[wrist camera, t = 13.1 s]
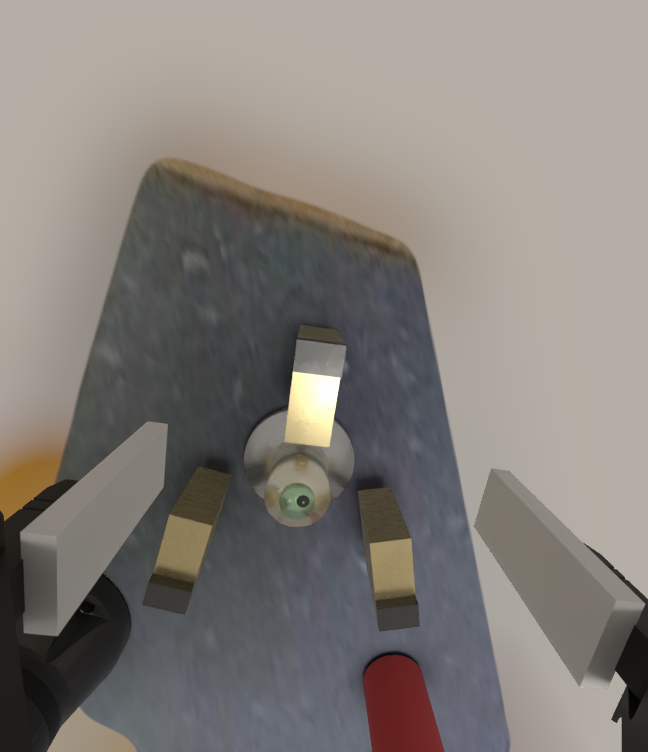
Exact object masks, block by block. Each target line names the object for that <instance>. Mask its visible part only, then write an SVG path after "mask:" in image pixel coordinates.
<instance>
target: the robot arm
mask: <svg viewBox="0 0 648 752" xmlns="http://www.w3.org/2000/svg"><path fill="white" fill-rule="evenodd" d="M167 430H168V424H164V423H157V422H149V421H148V422H146V423H145V424H144V425H143V426H142V427H141V428H139V429H138V430H137V431H136V432H135V433H134V434H133V435H131V436H130V437H129V438H128V439H127V440H126V441H125V442H123V443H122V444H121V445H120V446H119V447H118V448H116V449H115V450H114V451H113V452H112V453H111V454H110V455H108V456H107V457H106V458H105V459H104V460H103V461H102V462H100V463H99V464H98V465H97V466H96V467H95V468H93V469H92V470H91V471H90V472H89V473H88V474H87V475H85V476H84V477H83V478H82V479H81V480H80V481H75V480H67V479H66V480H63V481H61V482H59V483H56V484H54V485H52V486H50V487H48V488H46V489H45V490H44V491H42V492H41V493H40V494H39V495H37V496H36V497H35V498H34V500H31V501H30V502H28V503H27V504H26V505H25V506H23V508H22V509H20V510H18V511H17V512H16V513H14V514H13V515H12V516H11V517H9V518H8V519H7V520H6V521H4V516H3V514H2V512H1V511H0V752H47V750H48V748H49V746H50V745H51V743H52V741H53V739H54V738H55V736H56V734H57V732H58V731H59V729H60V727H61V726H62V725H63V724H64V722H65V721H66V720H67V719H68V718H69V717H70V716H71V715H72V714H73V713H74V711H76V709H77V708H78V707H79V706H80V705H81V704H82V703H83V702H84V701H85V700H86V699H87V697H88V696H89V695H90V694H91V693H92V692H93V691H94V690H95V689H96V688H97V686H98V685H99V684H100V683H101V682H102V681H103V680H104V679H105V678H106V677H107V676H108V674H109V673H110V672H111V670H112V669H113V668H114V666H115V664H116V663H117V661H118V659H119V657H120V655H121V653H122V651H123V649H124V647H125V645H126V643H127V640H128V637H129V633H130V616H129V612H128V608H127V606H126V603H125V601H124V599H123V598H122V596H121V595H120V593H119V592H118V590H117V589H116V588H115V587H114V586H113V585H112V584H111V583H110V582H109V581H108V580H107V579H106V578H105V577H103V576H102V573H103V572H104V570H105V569H106V568H107V566H108V565H109V563H110V562H111V560H112V559H113V558H114V556H115V555H116V553H117V552H118V551H119V549H120V548H121V546H122V545H123V544H124V542H125V541H126V539H127V538H128V537H129V535H130V534H131V532H132V531H133V530H134V528H135V527H136V525H137V524H138V522H139V521H140V520H141V518H142V517H143V515H144V514H145V513H146V511H147V510H148V508H149V507H150V506H151V504H152V503H153V501H154V500H155V499H156V497H157V496H158V494H159V493H160V492H161V490H162V489H163V487H164V474H165V459H166V445H167ZM474 527H475V528H476V530H477V531H478V533H479V534H480V536H481V537H482V539H483V541H484V542H485V544H486V545H487V547H488V548H489V550H490V551H491V553H492V554H493V556H494V557H495V559H496V560H497V562H498V563H499V565H500V566H501V568H502V569H503V571H504V572H505V574H506V575H507V577H508V579H509V580H510V581H511V583H512V584H513V586H514V588H515V589H516V591H517V592H518V594H519V595H520V597H521V598H522V600H523V601H524V603H525V604H526V606H527V607H528V609H529V611H530V612H531V613H532V615H533V617H534V618H535V619H536V621H537V622H538V624H539V626H540V627H541V629H542V630H543V632H544V633H545V635H546V636H547V638H548V639H549V641H550V643H551V644H552V646H553V647H554V648H555V650H556V652H557V653H558V654H559V656H560V658H561V659H562V661H563V662H564V664H565V665H566V667H567V668H568V670H569V671H570V673H571V674H572V676H573V678H574V679H575V680H576V682H577V683H578V685H579V687H586V688H596V689H608V687H609V684H610V682H611V680H612V678H613V675H614V673H615V671H616V672H617V673H618V674H619V676H620V677H621V678H622V679H623V681H624V682H625V683H626V685H627V686H626V688H625V691H624V693H623V695H622V697H621V699H620V701H619V704H618V706H617V708H616V710H615V712H614V715H613V717H612V719H611V720H613V721H614V722H616V723H617V721H618V719H619V718H620V717H622V752H648V599H647V598H646V597H645V596H644V595H643V594H642V593H641V592H640V591H639V590H638V589H636V588H635V587H634V586H633V585H632V584H631V583H630V582H629V581H628V580H625V577H624V576H623V575H622V574H621V573H620V572H619V571H618V570H616V569H614V567H613V566H612V565H611V564H610V563H609V562H608V561H607V560H606V559H605V558H604V557H603V556H602V555H600V554H599V553H598V552H596V551H595V550H593V549H592V548H590V547H589V546H587V545H586V544H584V543H582V542H581V541H580V540H579V539H578V538H577V537H576V536H575V535H574V534H573V533H572V532H571V531H570V530H569V529H568V528H567V527H566V526H565V525H564V524H563V523H562V522H561V521H560V520H559V519H558V518H557V517H556V516H555V515H554V514H553V513H552V512H551V511H550V510H548V509H547V508H546V507H545V506H544V505H543V504H542V503H541V502H540V501H539V500H538V499H537V498H536V497H535V496H534V495H533V494H532V493H531V492H530V491H529V490H528V489H527V488H526V487H525V486H524V485H523V484H522V483H521V482H520V481H519V480H518V479H517V478H516V477H515V476H514V475H513V474H511V472H509V471H506V470H499V469H491V471H490V474H489V477H488V481H487V484H486V488H485V491H484V494H483V498H482V501H481V505H480V508H479V511H478V515H477V518H476V521H475V525H474Z"/></svg>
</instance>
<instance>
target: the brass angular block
mask: <svg viewBox="0 0 648 752" xmlns="http://www.w3.org/2000/svg"><path fill="white" fill-rule="evenodd" d="M346 348H347V346H346V344H345V342H344V340H343V339H342V337H341V335H340V333H339V331H338V330H337V329H329V328H322V327H315V326H308V325H301V324H300V327H299V332H298V337H297V343H296V351H295V359H294V367H293V376H292V384H291V392H290V400H289V407H288V415H287V423H286V431H285V439H284V442H287V443H295V444H304V445H312V446H321V447H329V445H330V439H331V433H332V426H333V420H334V414H335V407H336V401H337V395H338V388H339V382H340V378H342V373H343V367H344V360H345V354H346Z"/></svg>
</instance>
